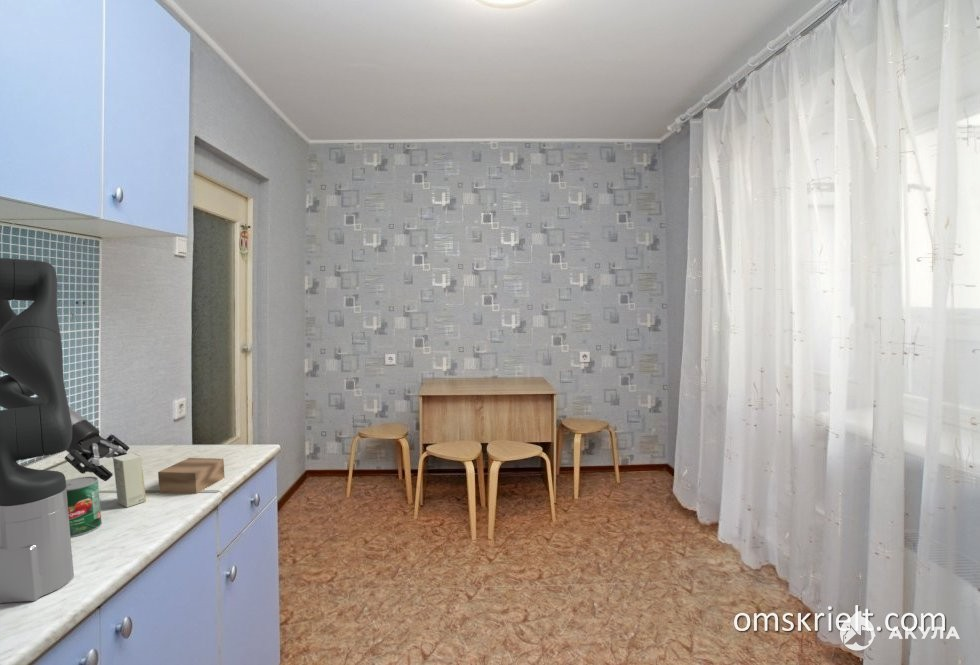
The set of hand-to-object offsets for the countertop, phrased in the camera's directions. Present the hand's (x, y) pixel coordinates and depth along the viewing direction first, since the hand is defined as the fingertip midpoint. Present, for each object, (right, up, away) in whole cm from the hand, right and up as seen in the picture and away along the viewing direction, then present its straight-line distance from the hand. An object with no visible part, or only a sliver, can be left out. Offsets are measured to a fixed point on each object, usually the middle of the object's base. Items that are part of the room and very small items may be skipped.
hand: (121, 471), depth 118 cm
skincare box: (+2, -8, +1) cm, 9 cm away
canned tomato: (+1, -9, -13) cm, 16 cm away
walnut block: (+11, -7, +12) cm, 18 cm away
